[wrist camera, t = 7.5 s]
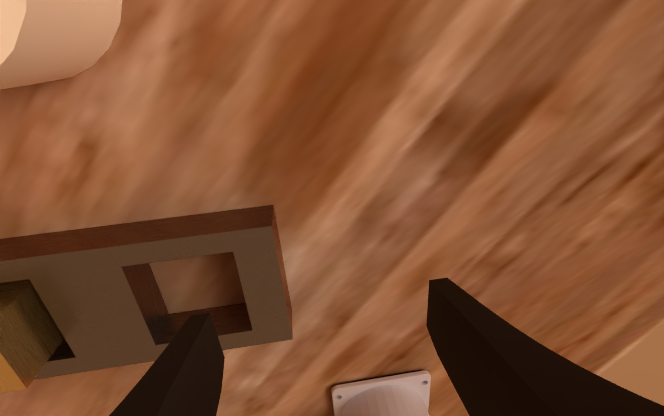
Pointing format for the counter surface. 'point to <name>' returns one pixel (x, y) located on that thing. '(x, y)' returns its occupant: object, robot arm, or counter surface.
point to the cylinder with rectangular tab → (53, 38)
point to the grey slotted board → (148, 285)
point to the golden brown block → (24, 335)
